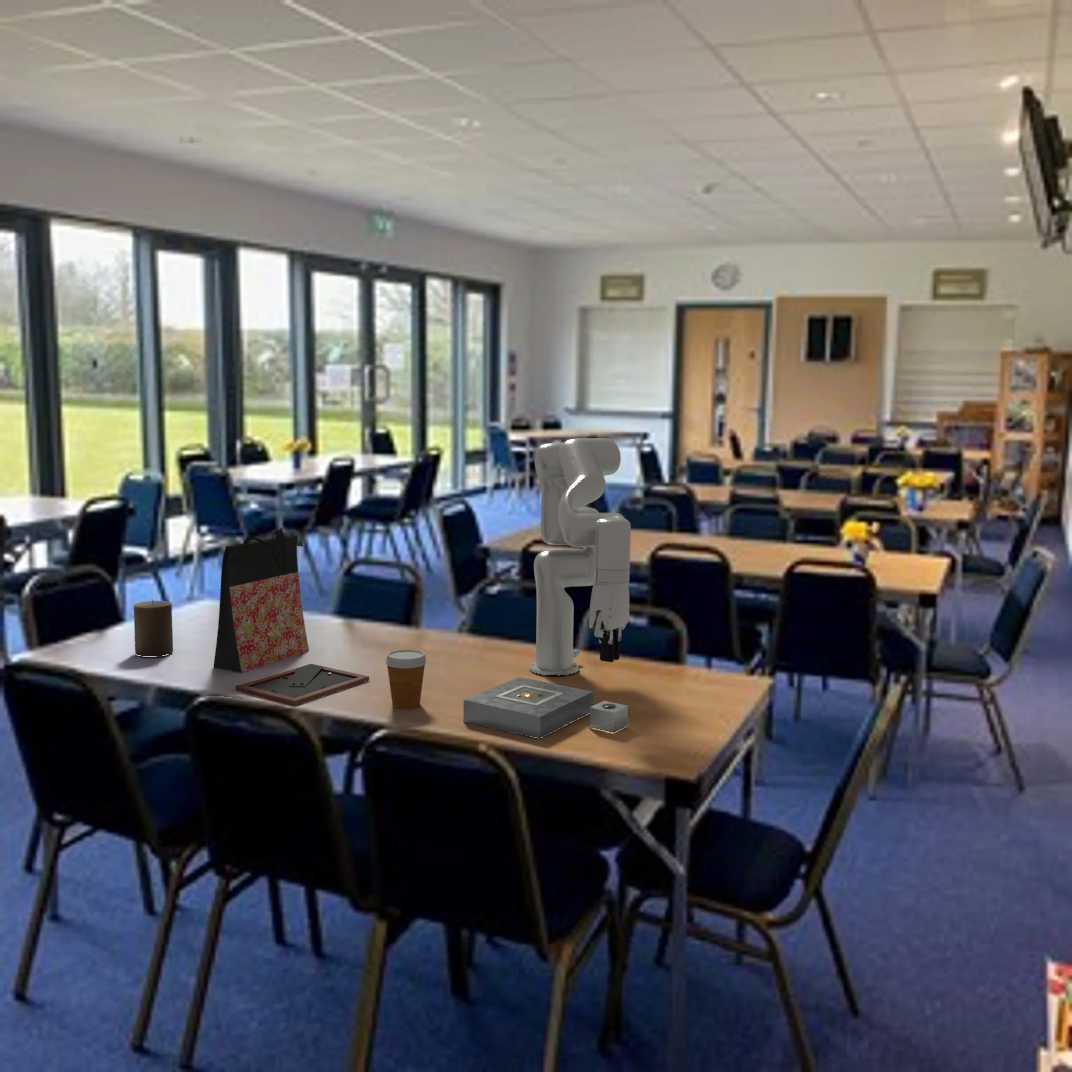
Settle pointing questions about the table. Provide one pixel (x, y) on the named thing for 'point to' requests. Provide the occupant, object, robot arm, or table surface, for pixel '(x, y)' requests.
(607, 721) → the block
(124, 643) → the table surface
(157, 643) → the pillar candle
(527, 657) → the table surface
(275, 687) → the picture frame
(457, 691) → the table surface
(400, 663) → the disposable coffee cup
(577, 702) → the block
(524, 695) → the brass pin
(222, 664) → the gift bag
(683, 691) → the table surface
